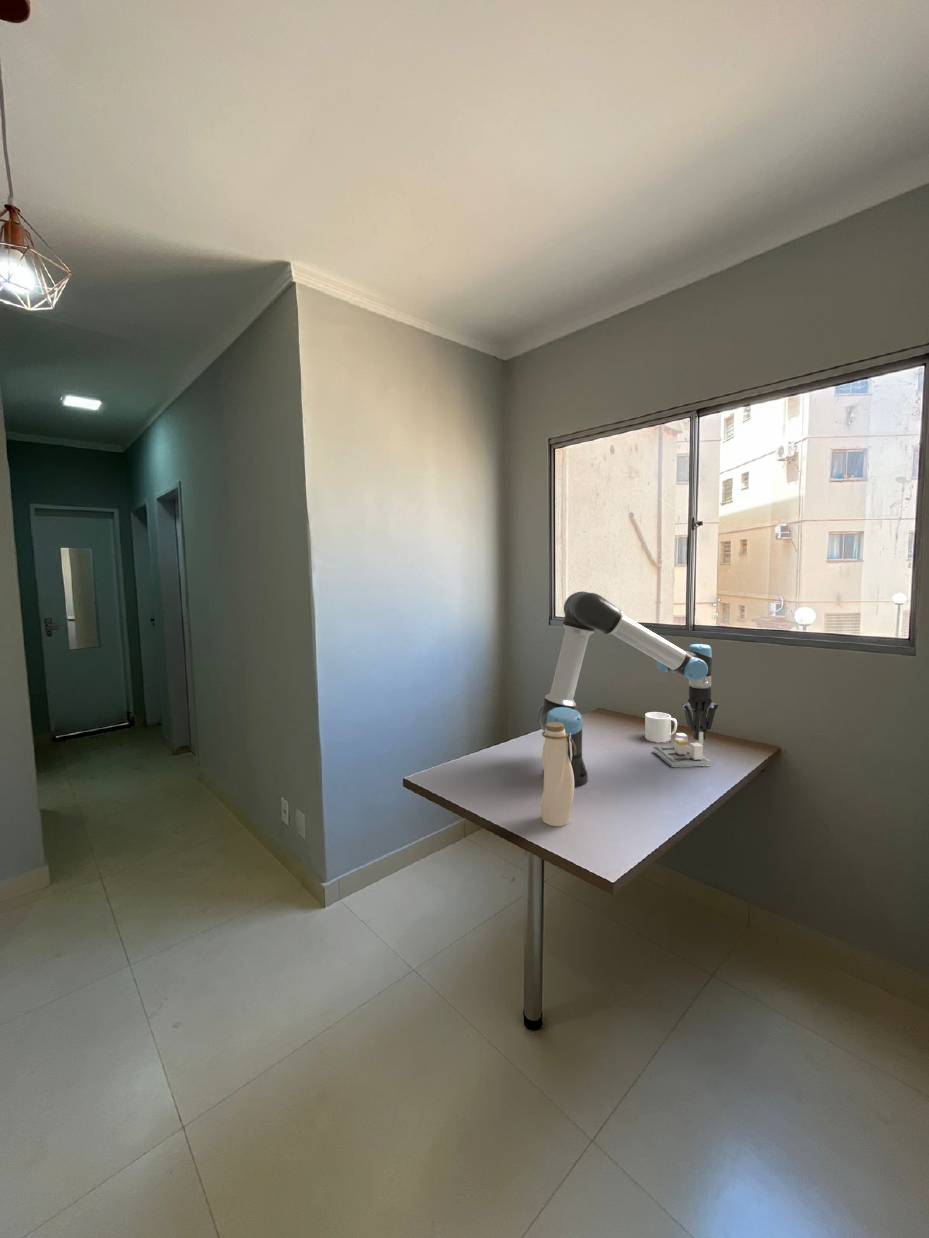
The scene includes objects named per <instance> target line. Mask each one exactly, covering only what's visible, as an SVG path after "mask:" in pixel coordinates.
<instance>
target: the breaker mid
mask: <svg viewBox="0 0 929 1238" xmlns="http://www.w3.org/2000/svg"><path fill="white" fill-rule="evenodd" d="M674 751H675V752H676V753H678V754H687V741H686V740H685V739H683V738H675V737H674Z"/></svg>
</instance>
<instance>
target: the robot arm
mask: <svg viewBox="0 0 929 1238" xmlns="http://www.w3.org/2000/svg"><path fill="white" fill-rule="evenodd" d="M563 613H564V617H563V622H562V626H563V628H564V634H563V639H562V643H561V646H560V652H559V655H558V660H557V663H556V668H555V672H554V676H553V681H552V684H551V687H550V692H549V693H548V694H546V695H545V696H544V699H543V703H542V704H541V706H539V709H538V712H537V721H538V725H539V726H540V728H541V729H542V732H544V731H545V729H546V724H547V723H549V722H560V723H563V724H564V729H565V732H566V733H567V734H568V736H569V737H570V732H571V739H572V740H573V742H574V743H575V746H576V755H574V746H573V744H572V742H571V745H572V760H571V757H570V743H569V739H568V738H567V737H566V738H567V741H568V756H569V759H570V762H571V765H572V769H573V774H574V788H577V787H581V786H583V785H586V783H587V782H588V781H589V780H588V775H589V774H588V770H587V768H586V764H585V761H584V758H583V726H584V725H583V724H584V722H583V717H582V714H581V713H580V712H579V711H578V710H576V707H577V704H576V702H575V700H574V698H575V693H576V689H577V687H578V682H579V681H578V680H579V677H580V673H581V670H582V669H581V668H582V664H583V661H584V657H585V654H586V653H585V652H586V649H587V647H588V642H589V641H588V640H589V638H590V636H591V635H592V634H594V633H595V631H597V630H598V631H599V632H601V633H603V634H605V635H607V636H608V635H612V636H614V637H616V638H617V639H620V640H621V641H622V642H625V643H626V644H628V645H630V646H632V647H633V648H634V649H637V650H638V651H640V652H642V653H643V654H645V655H647V656H648V657H651V659H654V660H655V665H656V668H657V670H658V671H659V672H662V673H674V674H677V675H679V676H682V677H684V678H686V679H688V684H689V687H688V699H687V702H686V703H685V704H681V708H682V709H683V712H684V715H685V720H686V724H687V727H688V729H689V730H691V731H693V740H695V743H696V742H698V743H699V744H701V745H702V746H703V747H704V740H706V733H707V732H708V731H710V730H711V729H712V726H713V722H714V717H715V715H716V710H717V709H718V707H719V704H717V703H714V702H713V701H712V662H713V661H712V660H713V654H712V653H713V652H712V647H711V646H710V645H709V644H703V643H695V644H690V645H689V647H688V650H687V649H686V650H684V649H682V648H680V647H679V646H677V645H675V644H674V643H672V642H670V641H669V640H667V639H665V638H663V637H662V636H660V635H659V634H657V633H655V632H653V631H651V630H650V629H648V628H646V627H645V626H643V625H642V624H640V623H639V622H636V621H635V620H633V619H632V618H630V617H628V616H626V615H625V614H624V611H623V609H621V608H619V607H617V606H616V605H614V604H613V603H612V602H611V601H608V600H607V599H606V598H605V597H602V595H600V594H598V593H596V592H595V593H594V592H587V591H577V592H574V593H571V594H570V595H569V596H568V597H567V599H566V600H565V602H564V605H563ZM691 709H692V711H691ZM691 712H692V713H691ZM542 779H543V780H544V768H543V770H542Z"/></svg>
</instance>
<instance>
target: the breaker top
mask: <svg viewBox="0 0 929 1238" xmlns="http://www.w3.org/2000/svg"><path fill="white" fill-rule="evenodd" d="M688 737H689V736H688V735H687V734H686V733H684V732H675V737H674V739H675V738H683V739H685V740H686V741H687V749H688V746H689V745H688V744H689V743H688V742H689V739H688Z"/></svg>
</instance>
